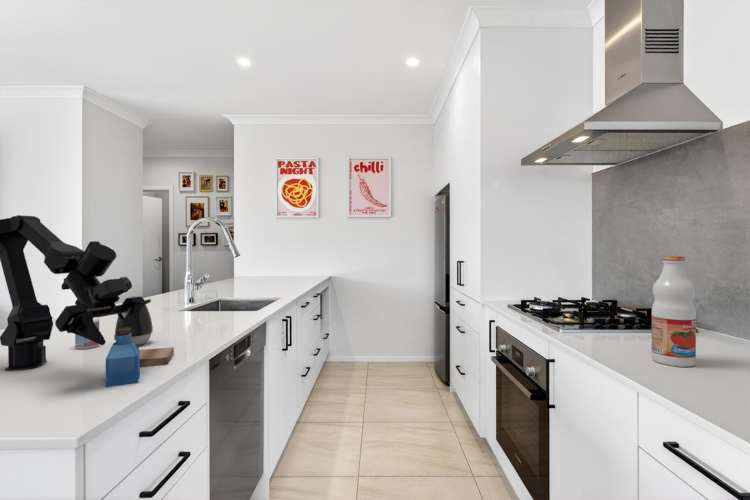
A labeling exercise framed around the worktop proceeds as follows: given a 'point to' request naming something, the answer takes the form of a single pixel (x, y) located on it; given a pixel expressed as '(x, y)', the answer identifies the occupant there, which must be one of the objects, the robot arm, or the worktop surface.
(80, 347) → the pill bottle
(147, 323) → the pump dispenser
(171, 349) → the walnut block
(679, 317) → the fruit juice
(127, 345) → the perfume bottle
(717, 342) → the worktop surface
